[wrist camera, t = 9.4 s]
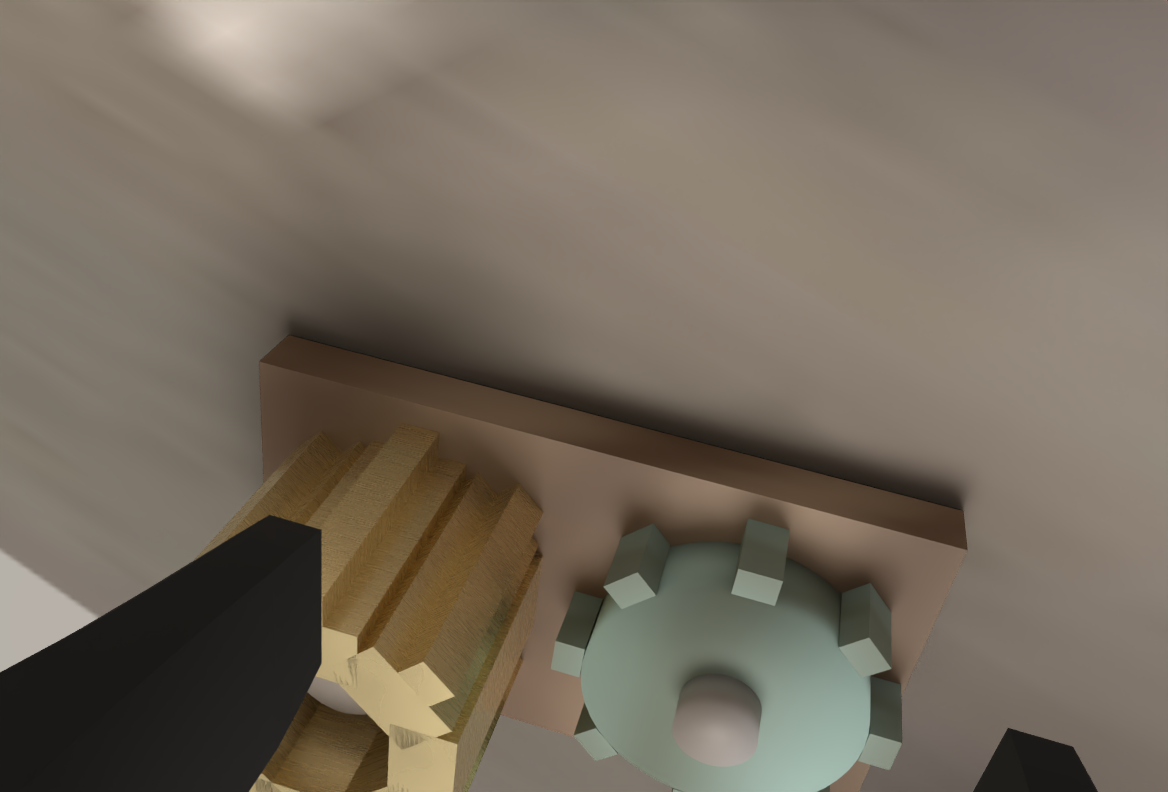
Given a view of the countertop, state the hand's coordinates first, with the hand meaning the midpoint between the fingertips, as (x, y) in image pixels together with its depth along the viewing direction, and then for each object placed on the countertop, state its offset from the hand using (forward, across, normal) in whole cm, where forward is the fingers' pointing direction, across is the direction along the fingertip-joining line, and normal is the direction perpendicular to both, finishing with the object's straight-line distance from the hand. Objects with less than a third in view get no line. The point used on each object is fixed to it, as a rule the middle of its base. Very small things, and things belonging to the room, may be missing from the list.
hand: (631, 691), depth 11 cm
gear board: (+9, +2, +7) cm, 12 cm away
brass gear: (+8, +6, +7) cm, 12 cm away
